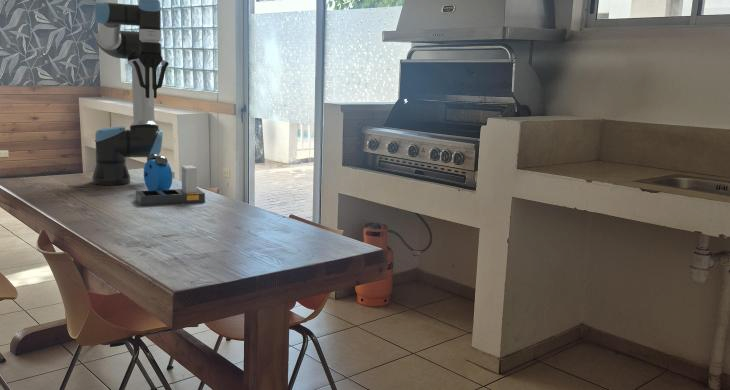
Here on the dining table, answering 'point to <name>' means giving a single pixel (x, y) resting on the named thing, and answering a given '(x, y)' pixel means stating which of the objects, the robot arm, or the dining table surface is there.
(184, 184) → the pale grey rectangular block
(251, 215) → the dining table surface
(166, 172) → the alarm clock
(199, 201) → the rack
